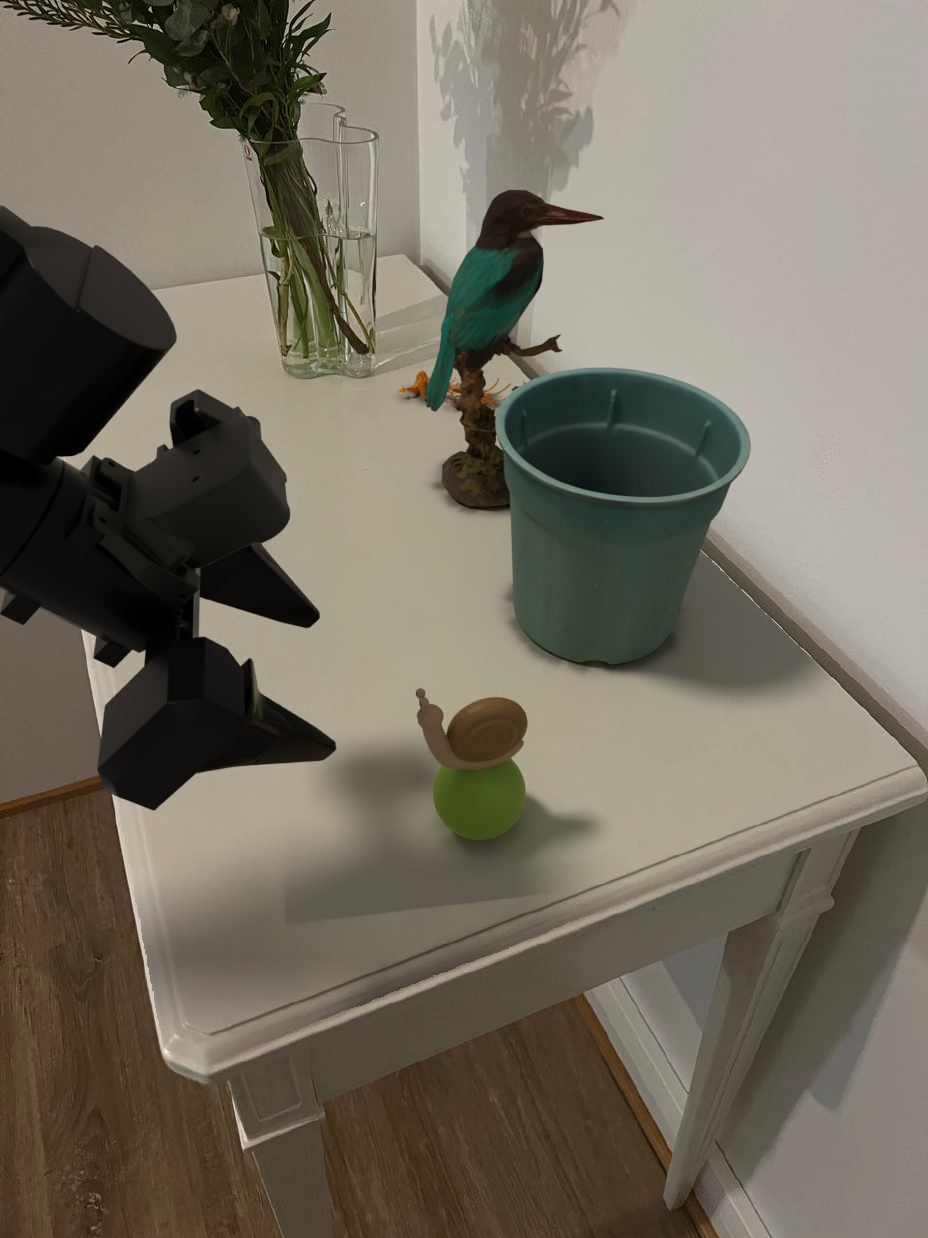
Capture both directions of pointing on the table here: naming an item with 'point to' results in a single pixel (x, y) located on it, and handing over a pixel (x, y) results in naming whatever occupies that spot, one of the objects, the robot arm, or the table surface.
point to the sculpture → (490, 333)
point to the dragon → (423, 382)
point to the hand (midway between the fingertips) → (322, 681)
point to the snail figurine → (477, 765)
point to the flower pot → (611, 503)
